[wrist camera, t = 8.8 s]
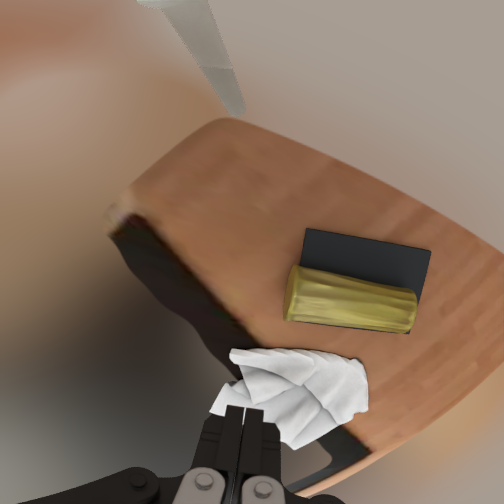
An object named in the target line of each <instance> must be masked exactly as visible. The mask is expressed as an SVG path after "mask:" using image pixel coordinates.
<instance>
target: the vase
mask: <svg viewBox="0 0 504 504" xmlns="http://www.w3.org/2000/svg"><path fill="white" fill-rule="evenodd" d="M416 314H417V297H416V295H415V293H414V292H413V291H412V290H411V289H408V288H401V287H395V286H390V285H384V284H378V283H373V282H369V281H364V280H360V279H356V278H352V277H348V276H343V275H338V274H334V273H330V272H326V271H321V270H316V269H310V268H305V267H302V266H299V265H297V264H295V265H293V267H292V269H291V271H290V274H289V278H288V282H287V287H286V292H285V298H284V305H283V319H284V320H285V321H291V320H293V321H302V322H312V323H319V324H327V325H336V326H346V327H355V328H365V329H373V330H379V331H387V332H395V333H401V334H403V333H406V332H408V331H409V330H410V329H411V327H412V326H413V324H414V321H415V318H416Z"/></svg>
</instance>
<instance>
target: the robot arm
mask: <svg viewBox="0 0 504 504" xmlns="http://www.w3.org/2000/svg"><path fill="white" fill-rule="evenodd" d="M244 409H245V407H240V406H233V405H227V407H226V412H225V416H220V415H215V414H212V415H211V416H210V417H209V418H208V419H207V420H205V422H204V425H203V429H202V432H201V435H200V440H199V443H198V446H197V449H196V453H195V456H194V459H193V463H192V466H191V468H190V470H189V471H188V472H187V473H185V474H183V475H181V476H178V477H172V478H158V477H157V476H156V475H155V474H154V473H153V472H152V471H150V470H148V469H145V468H141V467H132V468H128V469H125V470H123V471H120V472H118V473H115V474H112V475H110V476H107V477H104V478H102V479H99V480H96V481H94V482H90V483H88V484H85V485H82V486H79V487H76V488H73V489H69V490H66V491H63V492H60V493H56V494H53V495H49V496H46V497H42V498H38V499H35V500H30V501H27V502H22V503H18V504H230V498H231V493H232V488H233V483H234V489H233V495H232V503H231V504H345V503H344V502H342V501H341V500H340V499H338V498H337V497H335V496H332V495H326V494H321V495H317V496H314V497H312V498H311V499H308V498H304V497H301V496H298V495H295V494H293V493H291V492H289V491H288V490H287V489H286V488H285V487H284V486H283V484H282V482H281V453H280V452H281V451H280V449H281V445H280V444H281V443H280V442H281V441H280V430H279V429H278V427H277V425H276V424H275V423H270V422H263V420H264V410H262V409H255V408H247V407H246V411H245V417H244V422H243V416H244ZM242 423H243V428H242ZM241 431H242V434H241ZM240 438H241V440H240ZM239 445H240V446H239ZM238 452H239V453H238ZM237 459H238V461H237ZM236 466H237V468H236ZM235 473H236V475H235ZM234 477H235V481H234Z"/></svg>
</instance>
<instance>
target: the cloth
mask: <svg viewBox="0 0 504 504" xmlns="http://www.w3.org/2000/svg"><path fill="white" fill-rule="evenodd" d="M230 359H231V361H232V362H233V363H235V364H239V367H240V369H241V372H242V375H243V378H244V380H239V381H238V382H234V381H232V382H227V383H225V385H224V386H223V388H222V389H221V391H220V393H219V395H218V397H217V399H216V400H215V402H214V404H213V406H212V408H211V410H210V411H209V412H211V413H214V414H216V415H220V416H225V412H226V407H227V405H233V406H240V407H245V409H244V416H243V422H244V417H245V411H246V407H247V408H255V409H262V410H264V420H263V422H270V423H275V424H276V425H277V427H278V429H279V430H280V441H282V442H285V443H286V444H288V445H289V446H290V447H291V448H292V449H293V450H296V449H298V448H300V447H302V446H304V445H306V444H308V443H310V442H312V441H313V440H315V439H317V438H319V437H320V436H322V435H324V434H326V433H327V432H329V431H330V430H332V429H333V428H335V427H337V426H338V425H340V424H343V423H346V422H348V421H350V420H352V419H353V415H354V414H355V413H358V412H363V413H364V412H366V411H367V410H369V409H368V399H369V397H368V383H367V375H366V371H365V370H364V366H363V364H362V363H361V362H360V361H359V360H358V359H357V358H355V359H352V360H349V359H347V358H345V357H341V356H338V355H335V354H332V353H327V352H320V351H316V350H309V351H306V350H303V349H291V350H288V349H284V348H274V349H269V350H268V349H260V348H255V349H249V350H240V349H232V350H231V352H230ZM242 424H243V423H242Z"/></svg>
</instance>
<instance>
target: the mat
mask: <svg viewBox="0 0 504 504" xmlns="http://www.w3.org/2000/svg"><path fill="white" fill-rule="evenodd" d="M430 256H431V251H429V250H424V249H419V248H414V247H408V246H403V245H398V244H393V243H387V242H382V241H377V240H371V239H366V238H360V237H355V236H349V235H343V234H338V233H332V232H326V231H320V230H314V229H309V228H306V233H305V239H304V245H303V250H302V256H301V261H300V266H302V267H305V268H310V269H316V270H321V271H326V272H330V273H334V274H338V275H343V276H348V277H352V278H356V279H360V280H364V281H369V282H373V283H378V284H384V285H390V286H395V287H401V288H408V289H411V290H412V291H413V292H414V293H415V295H416V297H417V307H418V303H419V300H420V296H421V292H422V289H423V285H424V281H425V277H426V273H427V269H428V265H429V260H430ZM291 321H293V320H291ZM298 322H302V321H298ZM306 323H312V322H306ZM313 324H319V323H313ZM321 325H327V324H321ZM328 326H336V325H328ZM336 327H344V328H353V329H362V330H371V331H379V330H373V329H365V328H355V327H346V326H336ZM410 330H411V329H410ZM410 330H409V331H408V332H406V333H403V334H409V333H410ZM381 332H387V331H381ZM391 333H395V332H391Z"/></svg>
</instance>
